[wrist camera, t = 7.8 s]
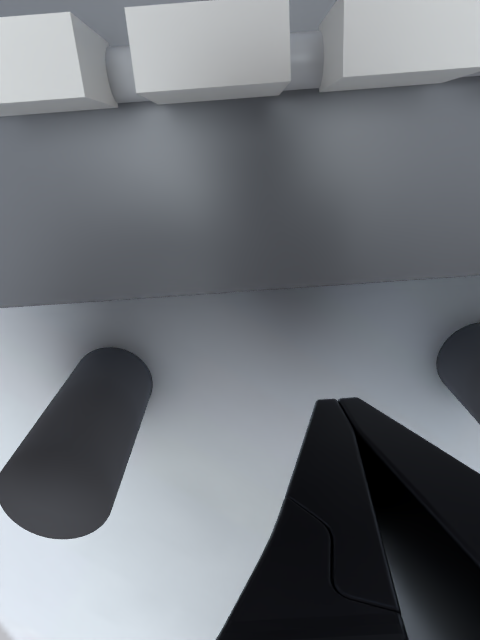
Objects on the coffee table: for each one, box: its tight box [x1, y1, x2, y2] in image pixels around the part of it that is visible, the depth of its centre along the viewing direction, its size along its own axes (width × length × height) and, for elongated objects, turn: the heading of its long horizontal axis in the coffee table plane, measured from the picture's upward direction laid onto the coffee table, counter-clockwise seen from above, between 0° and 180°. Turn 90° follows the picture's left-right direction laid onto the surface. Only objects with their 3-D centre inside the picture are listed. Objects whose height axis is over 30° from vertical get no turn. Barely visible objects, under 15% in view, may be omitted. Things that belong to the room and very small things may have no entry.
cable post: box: [0, 348, 152, 539], centre depth 14 cm, size 3×3×6 cm
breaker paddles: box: [0, 0, 480, 117], centre depth 10 cm, size 1×18×3 cm, turn 95°
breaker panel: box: [0, 0, 480, 308], centre depth 12 cm, size 12×22×4 cm, turn 94°
